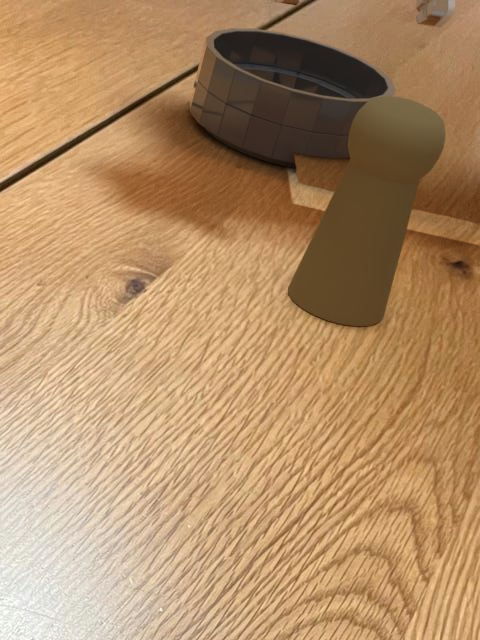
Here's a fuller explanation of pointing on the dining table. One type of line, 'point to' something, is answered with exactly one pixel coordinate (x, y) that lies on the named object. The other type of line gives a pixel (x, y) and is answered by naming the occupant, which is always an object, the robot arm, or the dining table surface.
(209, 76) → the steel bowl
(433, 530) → the dining table surface
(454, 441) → the dining table surface
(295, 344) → the dining table surface
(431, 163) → the olive brown pawn
